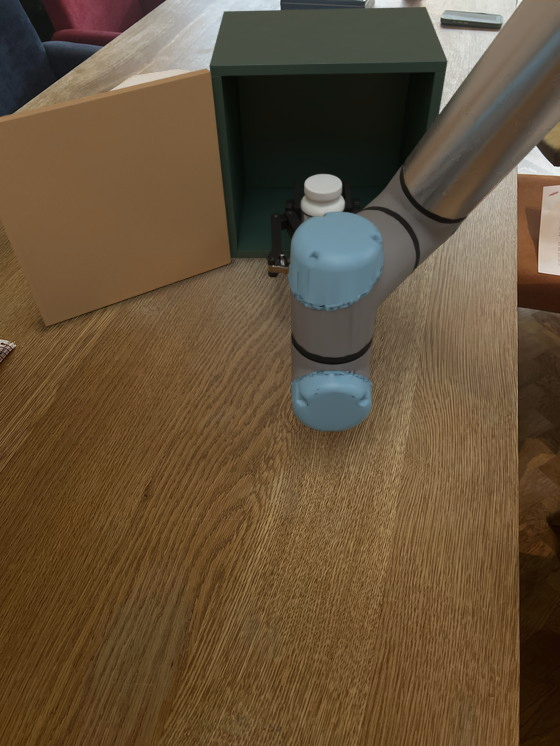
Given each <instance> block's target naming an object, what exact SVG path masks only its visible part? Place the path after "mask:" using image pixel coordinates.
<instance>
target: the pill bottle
mask: <svg viewBox="0 0 560 746" xmlns="http://www.w3.org/2000/svg"><path fill="white" fill-rule="evenodd" d="M304 193H305V196H304V197H303V199H302V201H301V204H300V222H301V224H302V223H303V222H305V221H306V220H307V219H309V218H311V217H323V215H324V214H325V213H328V212H345V201H344V198H343V197H342V196H341V193H342V182H341V180H340V179H339V178H337V177H336V176H333V175H329V174H318V175H314V176H311V177H309V178H308V179H307V180H306V181H305V184H304Z"/></svg>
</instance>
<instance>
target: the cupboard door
mask: <svg viewBox="0 0 560 746" xmlns="http://www.w3.org/2000/svg"><path fill="white" fill-rule="evenodd" d="M192 71H193V70H192ZM111 90H112V89H111ZM0 222H1V224H2V227H3V229H4V231H5V234H6V236H7V238H8V241H9V244H10V245H11V249H12V250H13V253H14V255H15V257H16V260H17V262H18V264H19V266H20V269H21V272H22V273H23V276H24V278H25V281H26V283H27V286H28V288H29V290H30V293H31V294H32V297H33V300H34V302H35V304H36V307H37V309H38V311H39V314H40V317H41V319H42V321H43V324H44V326H45V327H46V328H47V327H50V326H53V325H55V324H58V323H61V322H64V321H67V320H70V319H73V318H75V317H79V316H81V315H84V314H88V313H90V312H93V311H96V310H99V309H102V308H104V307H108V306H111V305H113V304H116V303H119V302H123V301H124V300H128V299H131V298H134V297H136V296H139V295H142V294H145V293H148V292H151V291H154V290H156V289H160V288H163V287H166V286H168V285H171V284H175V283H177V282H180V281H183V280H185V279H189V278H191V277H194V276H197V275H200V274H203V273H206V272H209V271H211V270H215V269H217V268H220V267H223V266H226V265H229V264H232V258H231V257H230V247H229V238H228V229H227V219H226V210H225V201H224V192H223V182H222V173H221V164H220V154H219V145H218V136H217V127H216V117H215V108H214V99H213V89H212V80H211V72H210V69H208V68H202V69H198V70H194V71H193V72H189V73H184V74H180V75H176V76H172V77H167V78H163V79H159V80H155V81H150V82H146V83H142V84H138V85H133V86H129V87H125V88H121V89H116V90H112V91H110V90H107V91H104V92H100V93H95V94H91V95H87V96H83V97H79V98H75V99H71V100H66V101H61V102H57V103H53V104H48V105H45V106H41V107H36V108H32V109H28V110H23V111H20V112H15V113H11V114H6V115H2V116H0Z"/></svg>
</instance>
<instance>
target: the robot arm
mask: <svg viewBox="0 0 560 746" xmlns="http://www.w3.org/2000/svg"><path fill="white" fill-rule="evenodd" d="M559 123H560V0H521V1H520V3H519V4H518V5H517V7H516V8H515V10H514V11H513V13H512V14H511V16H510V17H509V18H508V19H507V21H506V22H505V23H504V25H503V26H502V27H501V29H500V30H499V31H498V33H497V35H495V37H494V39H492V41H491V43H490V44H489V45H488V46H487V48H486V49H485V51H484V52H483V53H482V54H481V57H480V58H479V59H478V60H477V62H476V63H475V64H474V66H473V67H472V68H471V70H470V71H469V72H468V74H467V75H466V77H465V78H464V79H463V80H462V83H461V84H460V85H459V86H458V87H457V89H456V91H455V92H454V93H453V94H452V96H451V97H450V98H449V100H448V101H447V102H446V104H445V105H444V107H443V108H442V110H441V111H439V115H438V117H437V118H436V119H435V121H434V122H433V123H432V125H431V126H430V128H429V129H428V130H427V132H426V133H425V134H424V136H423V137H422V138H421V140H420V141H419V143H418V144H417V145H416V147H415V148H414V149H413V151H412V152H411V154H410V155H409V156H408V158H407V159H406V160H405V163H404V164H403V165H402V166H401V167H400V169H399V170H398V171H397V173H396V174H395V175H394V177H393V178H392V180H391V181H390V182H389V184H388V185H387V186H386V188H385V189H384V190H383V191H382V192H381V193H380V194H379V195H378V196H377V197H376V198H375V199H374V200H373V201H372V202H371V203H369V204H368V205H367V206H366V207H365V208H364V209H362V210H361V206H360V200H359V198H351V191H350V181H349V180H344V183H343V198H344V201H345V212H328V213H325V214H324V215H323V217H311V218H309V219H307V220H306V221H305V222H303V223H302V224H301V222H300V181H295V194H294V199H287V200H286V204H285V213H284V214H282V215H280V214H279V213H272V214H271V239H272V249H271V251H270V253H269V255H268V256H267V258H266V264H267V265H266V266H267V267H266V268H267V276H268V277H269V278H277V277H278V276H279V274H281V275H287V279H288V281H287V282H288V285H289V300H290V301H289V302H290V330H291V332H290V354H291V357H290V358H291V359H290V360H291V361H290V363H291V382H290V386H289V387H290V389H289V390H290V391H289V392H290V394H291V407H292V411H293V414H294V415H295V417H296V419H297V420H298V421H299V422H300V423H301V424H302V425H304V426H305V427H307V428H310V429H312V430H315V431H318V432H324V433H327V432H336V433H339V432H344V431H349V430H351V429H353V428H356V427H357V426H359V425H360V424H362V423H363V422H364V421H365V420H366V419H367V418H368V416H369V414H370V413H371V411H372V407H373V398H372V397H373V396H372V394H373V393H372V392H373V388H374V386H373V382H372V381H371V357H372V350H373V341H374V340H373V339H374V332H375V324H376V318H377V317H376V316H377V311H378V309H379V307H380V306H381V305H382V303H384V302H385V301H386V300H387V299H388V298H389V297H390V296H391V295H392V294H393V293H394V292H395V291H396V290H397V289H398V288H399V287H400V286H401V285H403V283H404V282H405V281H406V280H407V279H408V278H409V277H410V276H411V275H412V274H413V273H414V272H415V270H417V269H418V268H419V267H420V266H421V265H422V264H423V263H424V262H425V261H426V260H427V259H428V258H429V257H430V256H431V255H432V254H433V253H434V252H436V250H438V249H439V248H440V247H441V246H442V245H444V244H445V243H446V242H447V241H448V240H449V239H450V238H451V237H452V236H453V235H454V234H455V233H456V232H457V231H458V229H459V228H460V226H461V224H463V223H464V222H465V221H466V219H467V218H468V216H470V214H472V213H473V212H474V210H475V209H476V208H477V207H478V206H479V205H480V204H481V203H482V202H483V201H484V200H485V199H486V198H487V197H488V196H489V195H490V194H491V193H492V192H493V191H494V190H495V189H496V188H497V187H498V186H499V185H500V184H501V182H503V180H504V179H505V178H507V176H508V175H509V174H510V173H511V172H512V171H513V170H514V169H515V168H516V167H517V166H518V165H519V164H520V163H521V162H522V161H523V160H524V159H525V158H526V157H527V156H528V155H529V154H530V153H531V152H532V151H533V150H534V149H535V147H536V146H537V145H538V144H540V142H541V141H542V140H543V139H544V138H545V137H546V136H548V134H549V133H550V132H551V131H552V130H553V129H554V128H555V127H556V126H557V125H558V124H559ZM284 229H286V231H287V233H288V235H289V237H290V239H291V255H290V257H289V261H288V257H285V256H284V253H282V237H281V230H284Z"/></svg>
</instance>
